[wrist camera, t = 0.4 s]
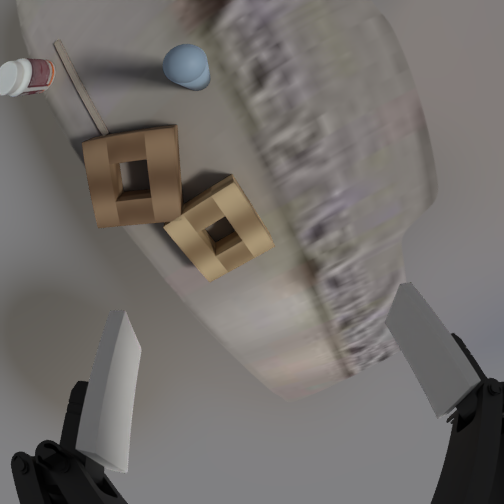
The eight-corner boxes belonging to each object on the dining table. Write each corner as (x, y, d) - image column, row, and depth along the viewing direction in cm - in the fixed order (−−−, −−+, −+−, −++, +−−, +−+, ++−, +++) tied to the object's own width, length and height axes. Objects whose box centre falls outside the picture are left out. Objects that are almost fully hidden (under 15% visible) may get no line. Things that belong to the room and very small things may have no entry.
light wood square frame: (167, 215, 35) (163, 227, 32) (232, 174, 33) (233, 182, 30) (209, 267, 40) (209, 282, 37) (269, 233, 38) (274, 246, 35)
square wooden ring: (93, 137, 28) (81, 142, 25) (177, 124, 29) (173, 127, 26) (106, 216, 34) (98, 228, 31) (184, 209, 35) (181, 220, 32)
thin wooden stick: (55, 43, 20) (53, 43, 19) (60, 39, 19) (58, 39, 19) (104, 136, 28) (103, 136, 28) (109, 132, 28) (108, 133, 28)
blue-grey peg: (184, 68, 26) (158, 42, 12) (210, 66, 26) (206, 38, 13) (184, 91, 27) (159, 85, 14) (210, 89, 27) (206, 80, 14)
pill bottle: (47, 53, 20) (10, 49, 13) (61, 74, 22) (25, 73, 15) (25, 79, 21) (-13, 82, 14) (39, 100, 23) (1, 107, 16)
